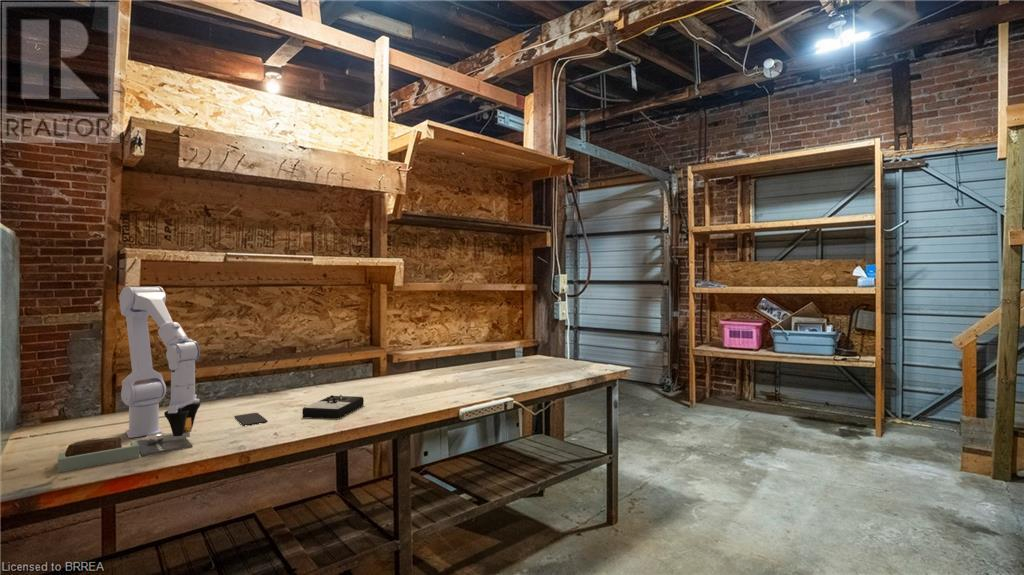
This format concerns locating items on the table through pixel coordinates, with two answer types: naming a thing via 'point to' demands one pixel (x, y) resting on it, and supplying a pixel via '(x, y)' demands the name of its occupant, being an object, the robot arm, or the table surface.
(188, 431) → the crank
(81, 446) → the brick
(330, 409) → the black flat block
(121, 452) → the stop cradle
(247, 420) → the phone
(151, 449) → the plate
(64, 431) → the table surface
